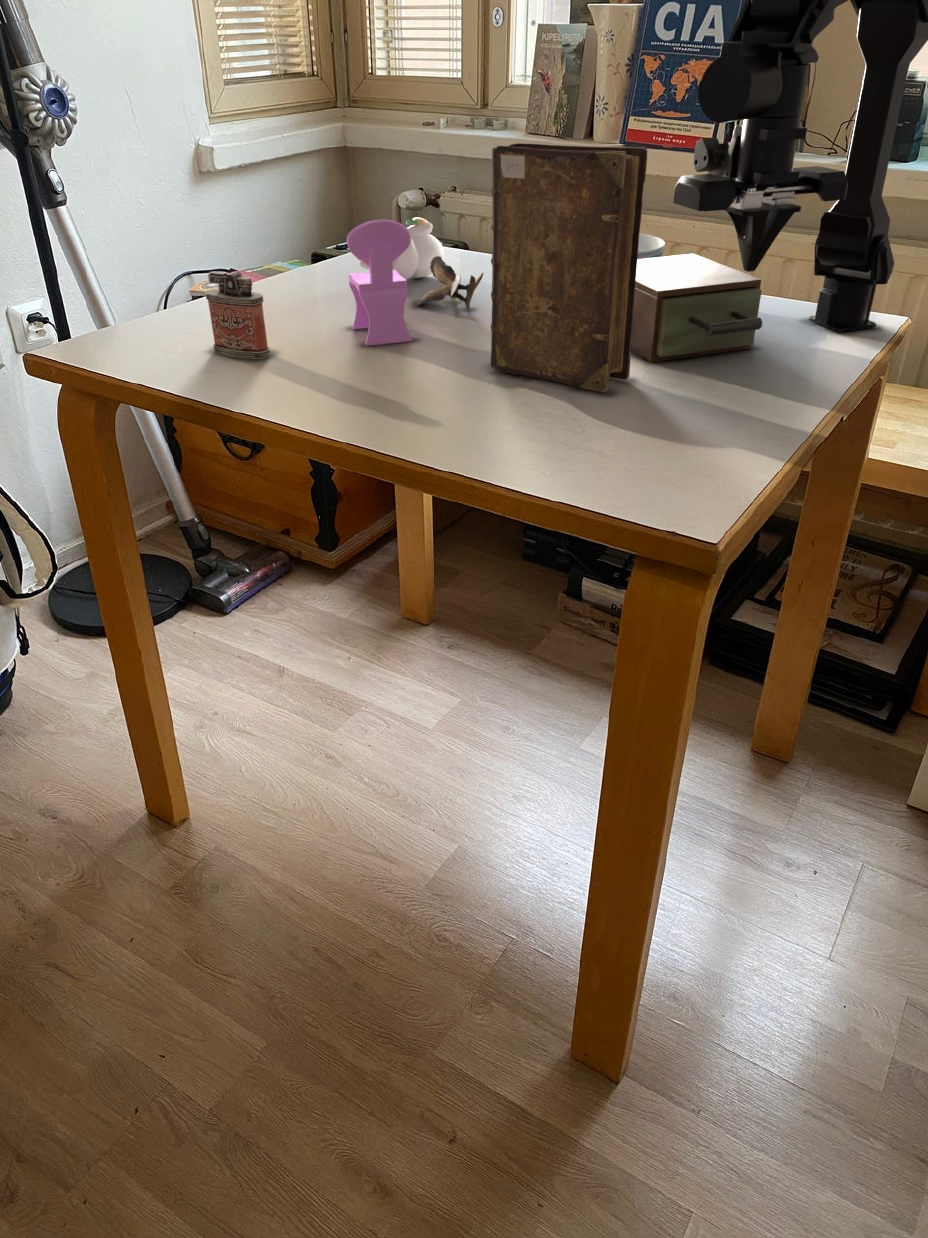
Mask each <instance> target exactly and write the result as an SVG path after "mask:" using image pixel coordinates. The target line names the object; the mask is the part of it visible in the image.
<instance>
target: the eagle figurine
mask: <svg viewBox="0 0 928 1238" xmlns="http://www.w3.org/2000/svg"><path fill="white" fill-rule="evenodd" d="M430 264H431V266H430V269H431V272H432V273H433V274H432V276H433V278H435V279H436V280H437V282H438V283H440V284H441V285H444V286H443V287H440V288H437V289H436V288H435V289H432V290H430V291H428V292H427V293H425V294H424V295H423V297H421V299H420V300H418V301H416V302H415V306H420V305H423V304H425V303H428V302H432V301H433V302H439V301H442V300H443V299H445V297H446V296H448V297H449V298H450V301H452V302H453V303H455V304H457V299H458V300H459V301H461V302H464V306H465V308H466V309H467V311H469V310H470V306H471V305H470V304H471V301H472V298H473V295H474V293H475V290H476V289H477V287H478V286H479V284H480V283H481V281H482V279H483V277H484V273H485V272H481V274H480V275H479V276H478V278H477V279H476V277H475V276H473V275H472V274H471V275H470V278H469V282H468V283H467V284H466V285H465V284H462V283H461V281H462V275H461V274H459V276H458V277H457V274H456V272H455V270H454V269H453V267H452V266H451V265H448V264H447V263H446V261H444V259H443V260H442V258H441V257H440V256H439V257H438V256H436V257H434V258H433V259H432V260H431V263H430ZM459 290H460V291H463V290H464V291H466V295H465V296H463V294H460V293H459Z"/></svg>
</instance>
